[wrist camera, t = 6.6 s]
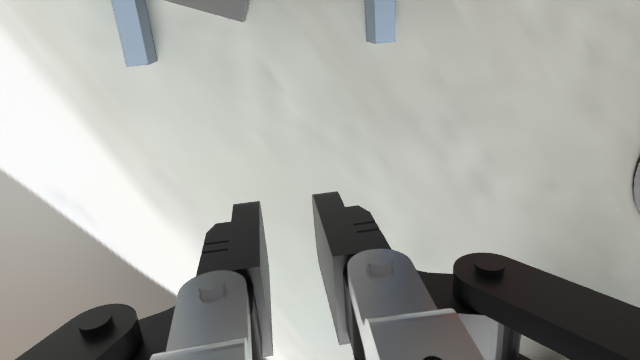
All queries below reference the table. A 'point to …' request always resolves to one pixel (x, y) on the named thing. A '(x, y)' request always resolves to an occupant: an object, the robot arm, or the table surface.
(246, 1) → the gray cube
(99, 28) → the table surface
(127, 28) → the track
